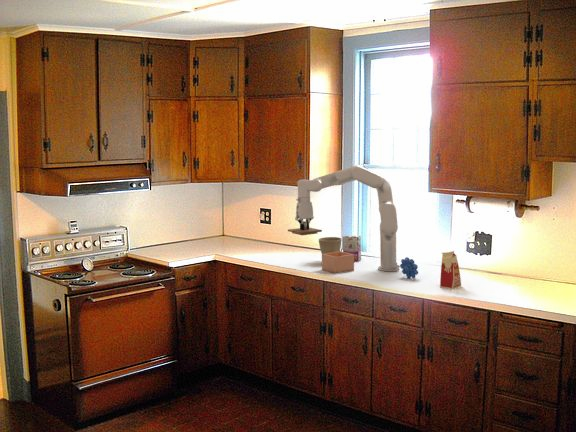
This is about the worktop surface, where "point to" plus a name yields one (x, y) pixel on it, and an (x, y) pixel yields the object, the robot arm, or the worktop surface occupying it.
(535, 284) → the worktop surface
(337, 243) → the plant pot
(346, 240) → the candy bar box
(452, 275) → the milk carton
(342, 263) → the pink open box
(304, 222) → the lid
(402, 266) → the grapes
